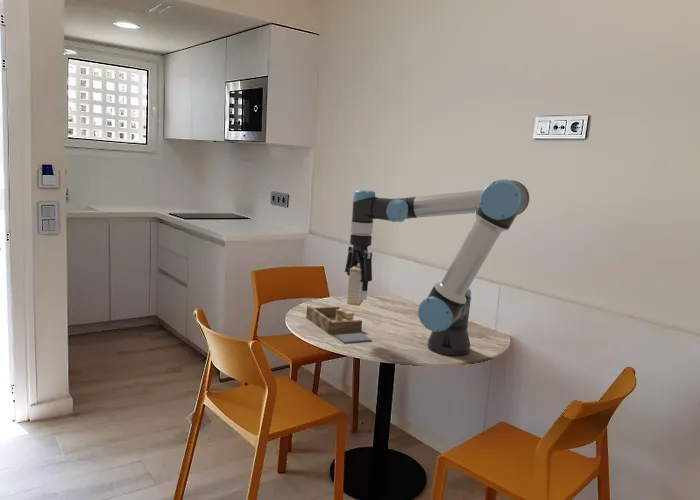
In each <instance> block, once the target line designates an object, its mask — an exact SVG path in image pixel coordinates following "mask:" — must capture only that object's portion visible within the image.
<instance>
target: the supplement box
mask: <svg viewBox="0 0 700 500" xmlns="http://www.w3.org/2000/svg"><path fill="white" fill-rule="evenodd" d="M360 280H362V279H361V269H360V265H357V266H353V267H352V268H351V269H350V277H349V289H348V293H347V301H346V302H347V303H346V304H347V305H348V306H349V305H350V306H355V307H358V306H361V304H362V303H363V301H364V300H359V290H360Z"/></svg>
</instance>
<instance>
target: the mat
mask: <svg viewBox="0 0 700 500" xmlns="http://www.w3.org/2000/svg"><path fill="white" fill-rule="evenodd" d="M334 337H335V338H336V339H337V340H338V341H340V342H342V343H343V344H353V343H363V342H372V341H373V340H372V338H370V337H369V336H367V335H366V334H364V333H362V332H357V333H356V332H353V333H343V334H342V333H341V334H334Z"/></svg>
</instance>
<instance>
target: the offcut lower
mask: <svg viewBox="0 0 700 500" xmlns="http://www.w3.org/2000/svg"><path fill="white" fill-rule="evenodd" d="M339 321H354V319H350V320H347V319H344V318H341V317H338V316H336V317H335V321H334V322H339Z"/></svg>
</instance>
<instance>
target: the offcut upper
mask: <svg viewBox="0 0 700 500" xmlns="http://www.w3.org/2000/svg"><path fill="white" fill-rule="evenodd" d="M354 315H355V313H354V312H352V311H350V310H347V309H344V308H339V309H336V316H338V317H341V318H344V319H347V320H350V319H352V320H354Z"/></svg>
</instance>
